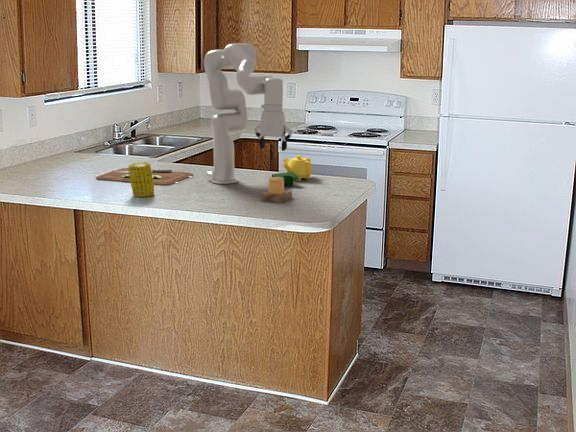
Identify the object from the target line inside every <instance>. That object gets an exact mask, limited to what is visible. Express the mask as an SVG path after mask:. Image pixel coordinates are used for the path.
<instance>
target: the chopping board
mask: <svg viewBox="0 0 576 432" xmlns="http://www.w3.org/2000/svg"><path fill="white" fill-rule="evenodd" d="M151 171H152V178H153V183H154V186H163V187H166V186H167V187H168V186H172V185H174V184H177V185H179V184H181V183H184V182H187V181H189V180H191V179H194V178H195V176H194V174H193V172H185V171H182V172H181V171H173V170H172V169H151ZM94 177H95V179H96V180H98V181H108V182H119V183H129V184H131V181H130V173H129V167H122V168H119V169H112V170H108V171H106V172H104V173H100V174H97V175H95V176H94Z"/></svg>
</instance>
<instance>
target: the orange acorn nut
mask: <svg viewBox="0 0 576 432" xmlns="http://www.w3.org/2000/svg"><path fill="white" fill-rule="evenodd" d="M268 190H269V193H271V194H282V193H284V190H285V186H284V178H282V177H272V176H271V177H269V178H268Z"/></svg>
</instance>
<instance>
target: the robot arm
mask: <svg viewBox="0 0 576 432" xmlns="http://www.w3.org/2000/svg"><path fill="white" fill-rule="evenodd" d="M257 54H258V53H257V50H256V48H255V46H254V44H251V43H250V42H247V43H246V42H241V43H240V42H239V43H230V44H228V45H226V46H225V48H224V49H214V50H213V49H212V50H210V51H208V52H207V53H206V54H205V56H204V59H203V68H204V71H205V75H206V77H207V80H208V81H207V82H208V88H209V96H210V102H211V106H212V108H213V110H215V111H232V112H226V113H225V112H223V113H218V114H215V115H213V116H212V117H211V120H210V128H211V134H212V142H213V144H212V145H213V146H212V147H213V149H212V150H213V171H207V172H206V176H207V177H211V178H210V182H211V183H214V184H216V185H217V184H218V185H227V184H228V185H230V184H235V183H238V181H239V178H238V177H236V175H235V170H236V169H235V143H234V140H233V139H232V137H231V135H232V134H240V133H244V132H245V131H247V129H248V126H249V122H248V111H247V103H246V97H245V95H244V93H245V94H247V95H249V96H256V95H264V97H263V99H264V100H263V101H264V102H263V104H261V109H263V111H262V112H261V116H260V124H259V125H257V126H255V127H253V131H254V133H255V136H256V137H257V139H258V140H259V142H258V143H259V149H261V150H263V149H264V148H266V145H265V143H266V142H265V141H266V140H265V137H275V138H276V137H277V138H278V137H279V138H281V140H282V141H281V151H283V152H284V151H285V150H287V148H288V140H289V139H290V138H291V137H292V135H293V133H294V130H293V129H290V127H288V126H287V125H286V124H287V122H286V117H285V112H284V111H283V107H284V106H283V104H284V103H283V99H284V97H283V93H284V91H283V90H284V88H283V87H284V82H283V79H282V78H280V77H274V76H272V75H253V76H251V75H252V73H253V72H254V71H255V70H256V59H257V56H258V55H257ZM227 69H229V70H231V69H233V70H236V83H237V84H238V87H240V89H238V88H229V84H228V79H227V76H226V75H225V74H224V72H223V71H222V70H227ZM243 92H244V93H243ZM286 133H287V135H286Z"/></svg>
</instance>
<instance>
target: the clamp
mask: <svg viewBox="0 0 576 432" xmlns="http://www.w3.org/2000/svg"><path fill="white" fill-rule="evenodd" d="M271 177H282V178H284V185H285V186H290V187H292V188H293V187H294V183H295V181H297V180H298V175H296V174H295V173H294V172H286V171H285V172H279V173H272V174H271Z"/></svg>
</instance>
